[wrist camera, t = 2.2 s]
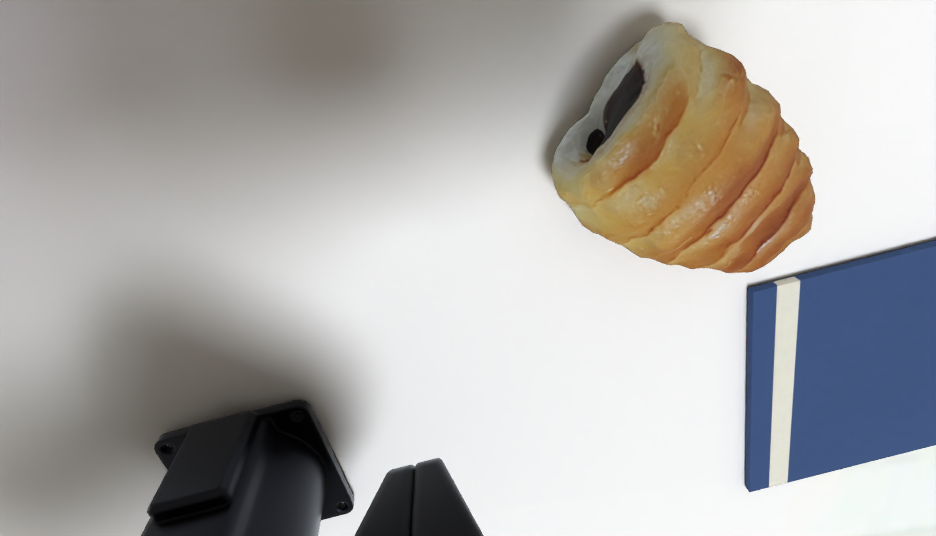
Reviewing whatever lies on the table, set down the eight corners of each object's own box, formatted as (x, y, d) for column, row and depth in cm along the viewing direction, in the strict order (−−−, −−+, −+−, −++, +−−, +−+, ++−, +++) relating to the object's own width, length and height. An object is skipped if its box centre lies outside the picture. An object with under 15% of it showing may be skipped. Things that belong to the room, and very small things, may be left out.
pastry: (828, 154, 20) (917, 183, 16) (707, 294, 22) (763, 346, 18) (640, 5, 17) (700, 3, 13) (522, 184, 19) (548, 221, 15)
